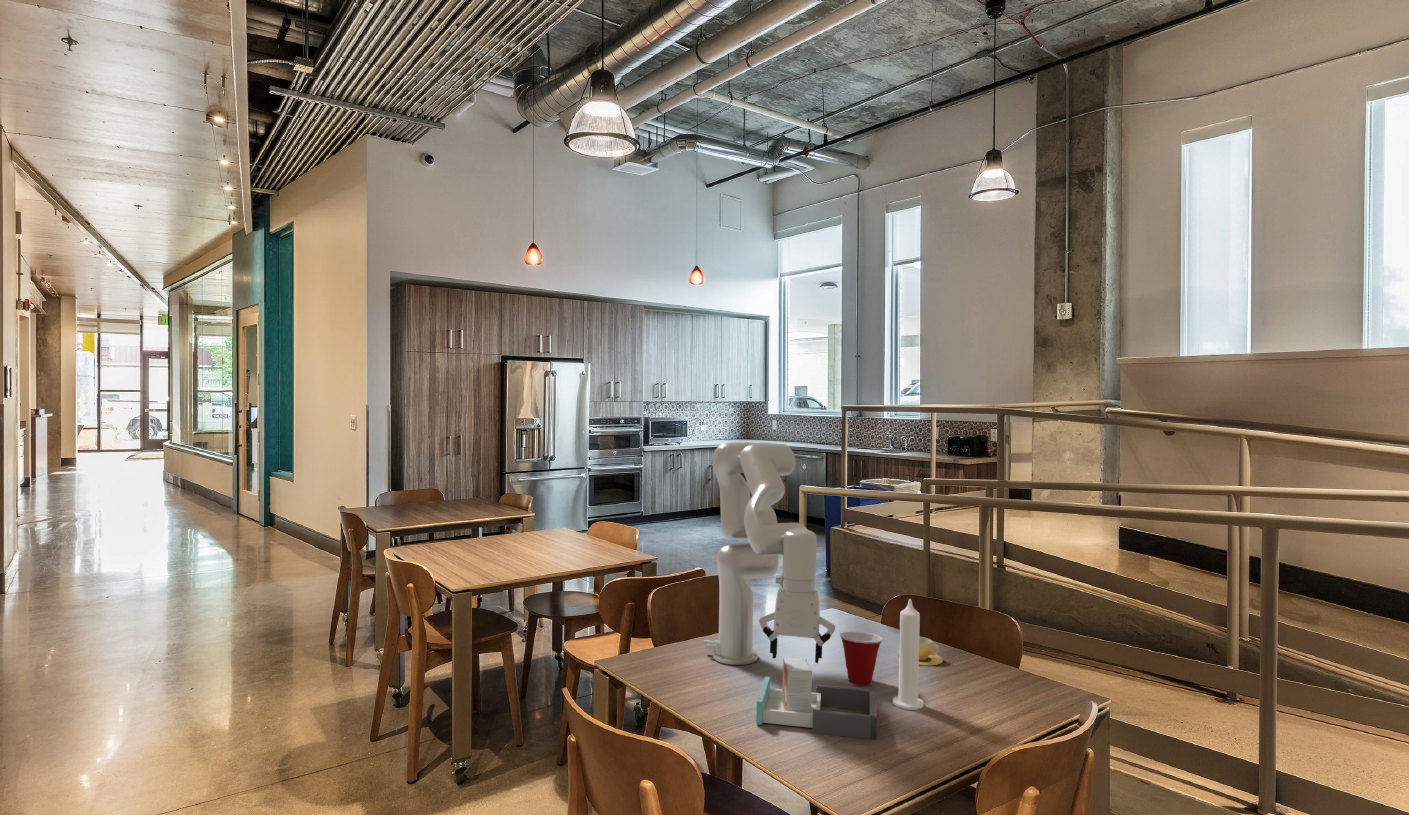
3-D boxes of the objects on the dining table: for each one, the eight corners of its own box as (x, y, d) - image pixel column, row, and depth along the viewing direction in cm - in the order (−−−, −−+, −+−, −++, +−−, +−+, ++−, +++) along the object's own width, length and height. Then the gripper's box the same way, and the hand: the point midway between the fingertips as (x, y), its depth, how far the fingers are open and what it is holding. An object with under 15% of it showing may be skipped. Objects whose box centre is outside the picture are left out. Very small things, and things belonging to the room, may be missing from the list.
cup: (895, 662, 201) (896, 643, 201) (901, 649, 213) (901, 631, 213) (941, 669, 197) (941, 649, 197) (944, 655, 208) (944, 637, 208)
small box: (781, 702, 169) (782, 657, 169) (805, 702, 169) (806, 657, 169) (786, 717, 161) (787, 669, 161) (811, 717, 161) (812, 670, 161)
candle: (924, 700, 175) (926, 596, 175) (922, 712, 168) (925, 604, 168) (893, 696, 177) (896, 593, 177) (891, 707, 170) (893, 600, 170)
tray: (756, 724, 159) (756, 701, 159) (764, 697, 174) (765, 676, 174) (818, 730, 156) (818, 707, 156) (821, 702, 171) (821, 681, 171)
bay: (812, 732, 156) (812, 711, 156) (816, 703, 172) (816, 684, 172) (876, 739, 153) (876, 718, 153) (874, 708, 169) (874, 689, 169)
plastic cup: (886, 678, 189) (887, 632, 189) (876, 692, 179) (877, 643, 179) (845, 670, 194) (846, 625, 194) (833, 684, 184) (834, 636, 184)
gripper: (758, 585, 163) (755, 660, 164) (836, 592, 160) (833, 669, 160) (762, 576, 170) (760, 648, 171) (837, 583, 167) (834, 656, 168)
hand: (795, 658), depth 166 cm, fingers open, 9 cm apart
